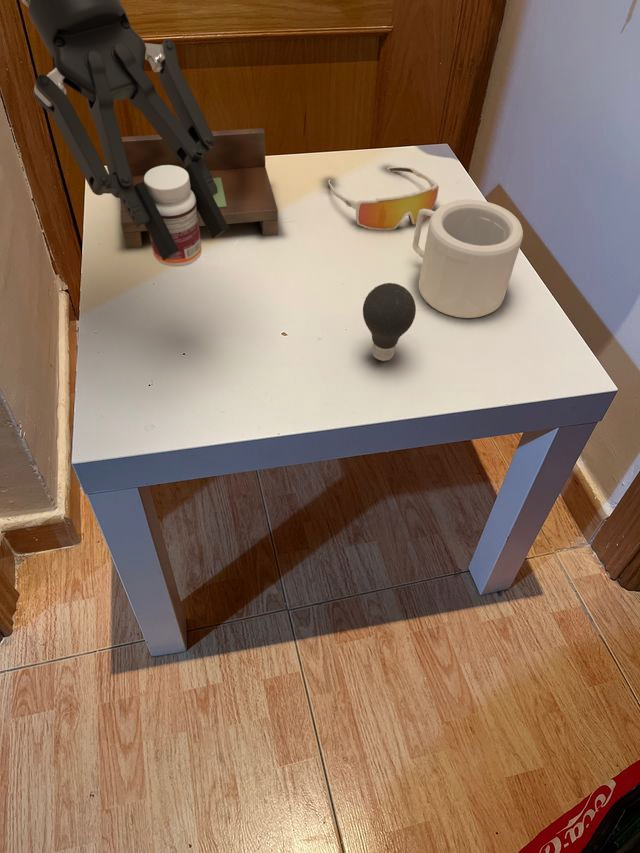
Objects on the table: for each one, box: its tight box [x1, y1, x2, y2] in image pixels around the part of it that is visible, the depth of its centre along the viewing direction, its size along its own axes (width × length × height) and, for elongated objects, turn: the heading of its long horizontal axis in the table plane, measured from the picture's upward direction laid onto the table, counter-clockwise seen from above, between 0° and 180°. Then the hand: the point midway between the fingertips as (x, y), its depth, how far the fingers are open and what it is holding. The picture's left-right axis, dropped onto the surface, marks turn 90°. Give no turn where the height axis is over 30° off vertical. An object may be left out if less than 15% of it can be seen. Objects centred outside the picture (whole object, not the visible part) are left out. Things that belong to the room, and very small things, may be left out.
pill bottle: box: [144, 165, 203, 268], centre depth 65 cm, size 5×5×8 cm
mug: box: [412, 199, 524, 319], centre depth 83 cm, size 14×11×10 cm
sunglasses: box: [327, 166, 440, 231], centre depth 98 cm, size 14×15×5 cm
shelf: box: [119, 127, 279, 249], centre depth 91 cm, size 20×12×9 cm, turn 101°
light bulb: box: [362, 282, 417, 362], centre depth 75 cm, size 6×6×10 cm
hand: (196, 243), depth 64 cm, fingers closed on pill bottle, 5 cm apart
